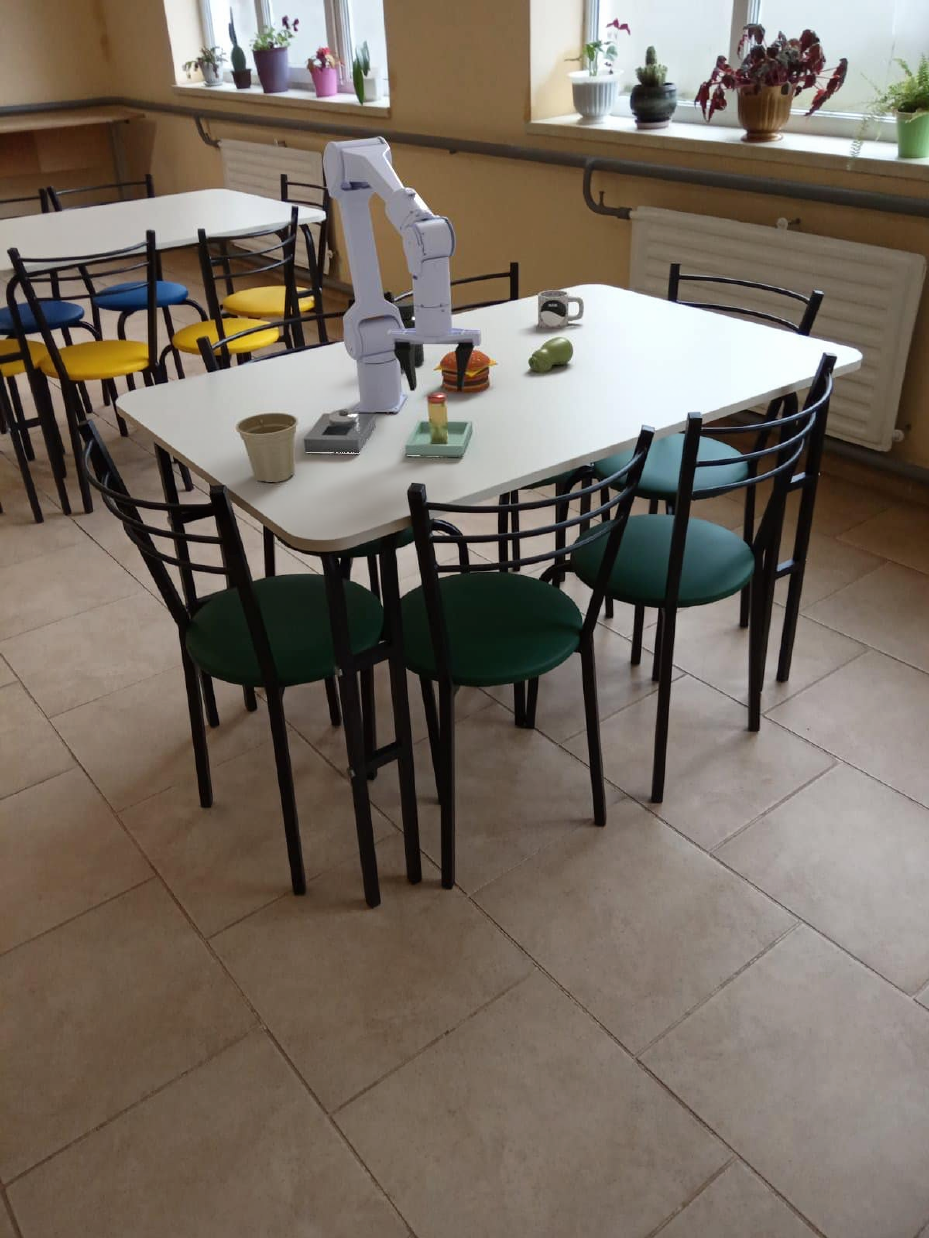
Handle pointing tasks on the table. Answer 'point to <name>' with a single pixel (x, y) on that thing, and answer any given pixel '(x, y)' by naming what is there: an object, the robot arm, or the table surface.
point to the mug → (556, 308)
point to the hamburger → (474, 373)
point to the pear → (551, 354)
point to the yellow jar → (438, 418)
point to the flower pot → (270, 445)
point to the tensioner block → (340, 432)
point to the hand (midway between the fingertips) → (436, 389)
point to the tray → (454, 448)
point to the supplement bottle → (410, 326)
